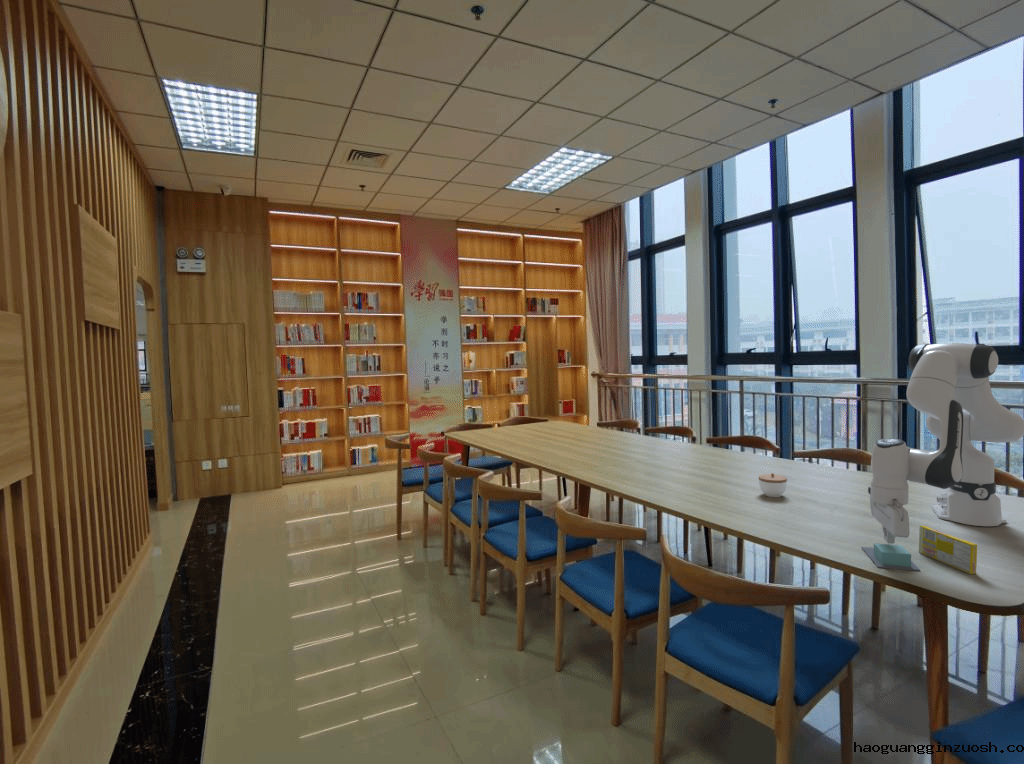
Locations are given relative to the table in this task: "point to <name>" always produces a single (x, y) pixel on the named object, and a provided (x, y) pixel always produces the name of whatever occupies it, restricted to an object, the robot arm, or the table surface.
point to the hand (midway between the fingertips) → (889, 541)
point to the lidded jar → (772, 484)
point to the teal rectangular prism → (892, 554)
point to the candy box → (948, 549)
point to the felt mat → (870, 553)
